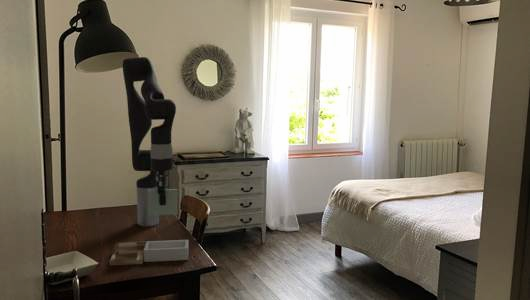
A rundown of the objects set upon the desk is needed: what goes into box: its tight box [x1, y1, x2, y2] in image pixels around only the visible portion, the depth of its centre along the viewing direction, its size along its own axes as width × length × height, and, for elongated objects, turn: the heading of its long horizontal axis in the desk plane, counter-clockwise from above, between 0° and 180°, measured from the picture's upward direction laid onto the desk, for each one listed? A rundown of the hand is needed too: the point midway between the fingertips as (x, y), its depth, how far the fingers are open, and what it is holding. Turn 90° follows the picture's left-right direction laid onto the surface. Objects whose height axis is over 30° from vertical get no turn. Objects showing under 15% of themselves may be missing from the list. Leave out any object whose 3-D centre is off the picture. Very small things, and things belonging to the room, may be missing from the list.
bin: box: [143, 239, 190, 263], centre depth 170 cm, size 9×15×4 cm, turn 98°
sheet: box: [148, 188, 178, 216], centre depth 167 cm, size 2×10×9 cm, turn 97°
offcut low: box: [115, 249, 138, 261], centre depth 163 cm, size 4×7×2 cm, turn 98°
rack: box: [108, 241, 147, 266], centre depth 168 cm, size 14×11×4 cm
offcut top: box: [119, 241, 138, 254], centre depth 163 cm, size 4×6×2 cm, turn 106°
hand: (162, 204), depth 167 cm, fingers closed on sheet, 1 cm apart
